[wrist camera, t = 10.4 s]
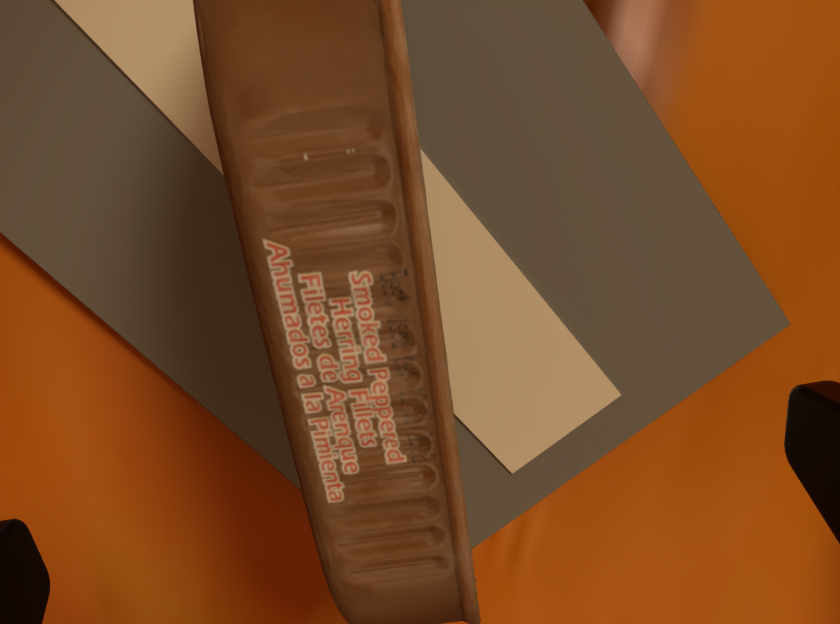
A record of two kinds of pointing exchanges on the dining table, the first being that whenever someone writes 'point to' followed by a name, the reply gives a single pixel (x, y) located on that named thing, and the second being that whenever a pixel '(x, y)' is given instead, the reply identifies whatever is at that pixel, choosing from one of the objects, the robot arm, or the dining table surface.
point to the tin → (346, 291)
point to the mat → (448, 217)
